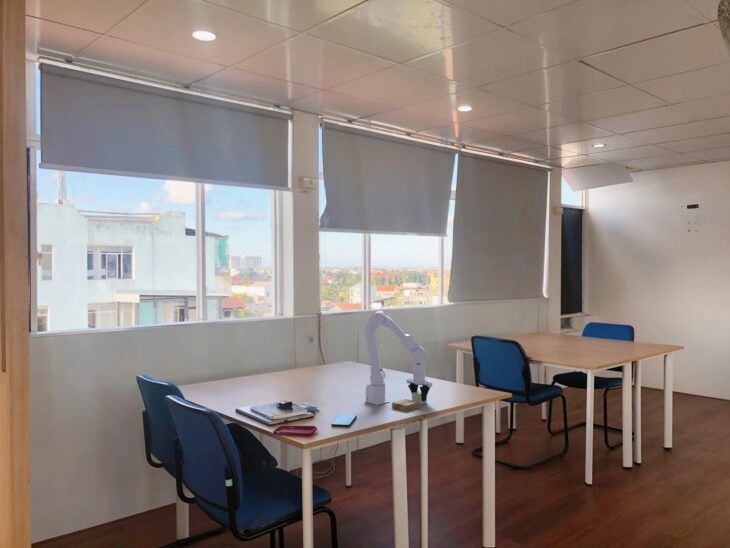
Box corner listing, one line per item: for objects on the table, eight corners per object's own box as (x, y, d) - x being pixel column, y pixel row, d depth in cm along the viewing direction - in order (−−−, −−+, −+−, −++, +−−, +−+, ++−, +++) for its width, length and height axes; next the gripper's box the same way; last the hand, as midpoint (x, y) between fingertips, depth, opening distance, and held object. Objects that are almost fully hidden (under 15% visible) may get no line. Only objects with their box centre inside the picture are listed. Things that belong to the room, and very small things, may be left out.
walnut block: (392, 408, 269) (391, 402, 269) (405, 405, 276) (404, 398, 276) (406, 412, 263) (406, 405, 263) (419, 408, 269) (419, 402, 269)
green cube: (412, 403, 278) (411, 392, 278) (418, 401, 281) (418, 390, 281) (420, 404, 274) (419, 394, 274) (426, 402, 278) (426, 392, 278)
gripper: (436, 372, 275) (436, 400, 275) (412, 368, 285) (413, 396, 286) (426, 374, 270) (427, 403, 270) (403, 370, 280) (403, 398, 281)
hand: (419, 400), depth 278 cm, fingers closed on green cube, 5 cm apart
